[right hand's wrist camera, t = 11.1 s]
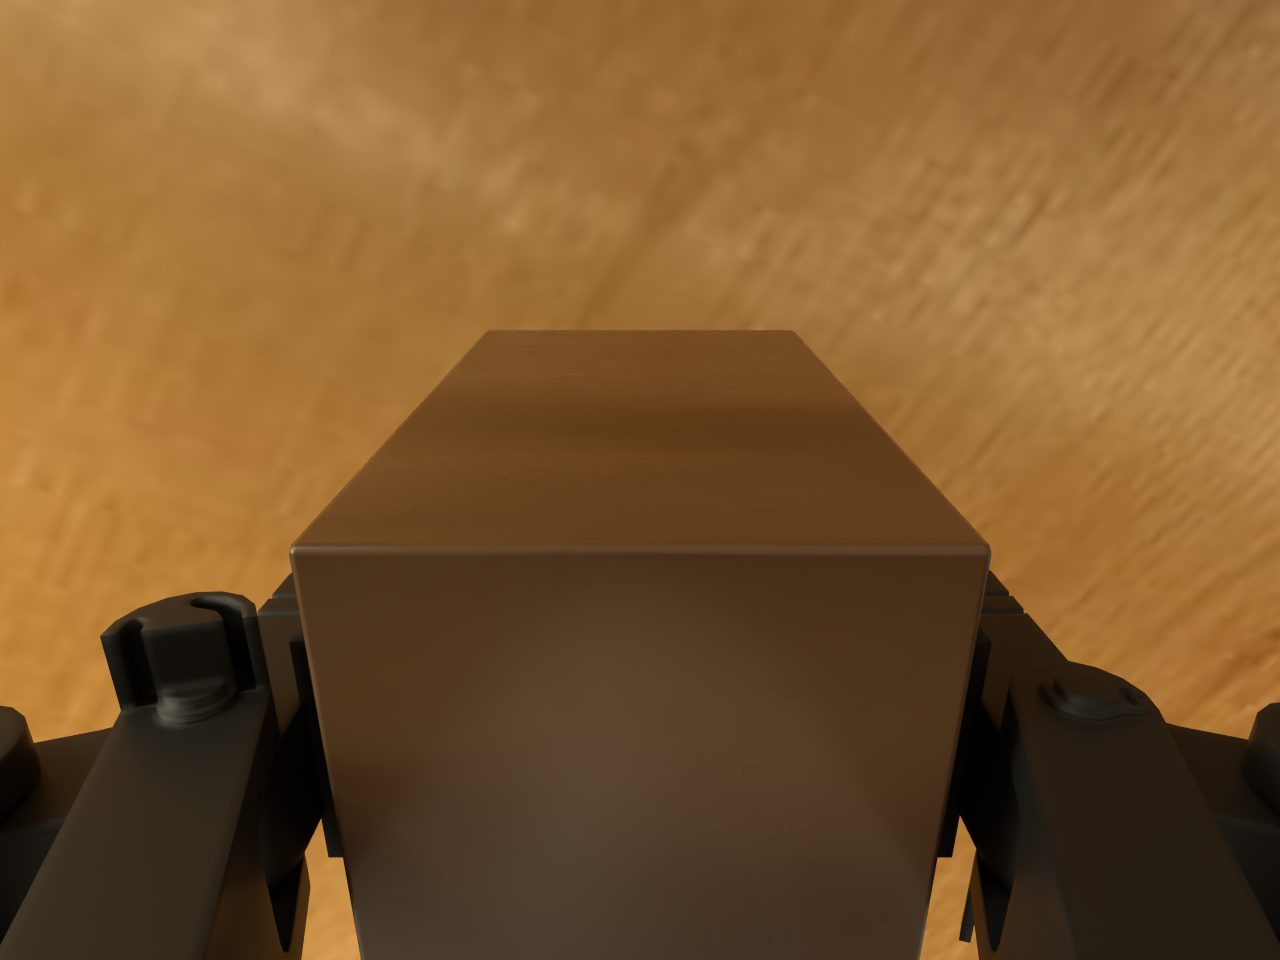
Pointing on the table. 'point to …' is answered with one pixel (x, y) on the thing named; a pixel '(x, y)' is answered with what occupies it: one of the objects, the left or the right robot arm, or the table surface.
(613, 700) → the bar
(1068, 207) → the table surface
